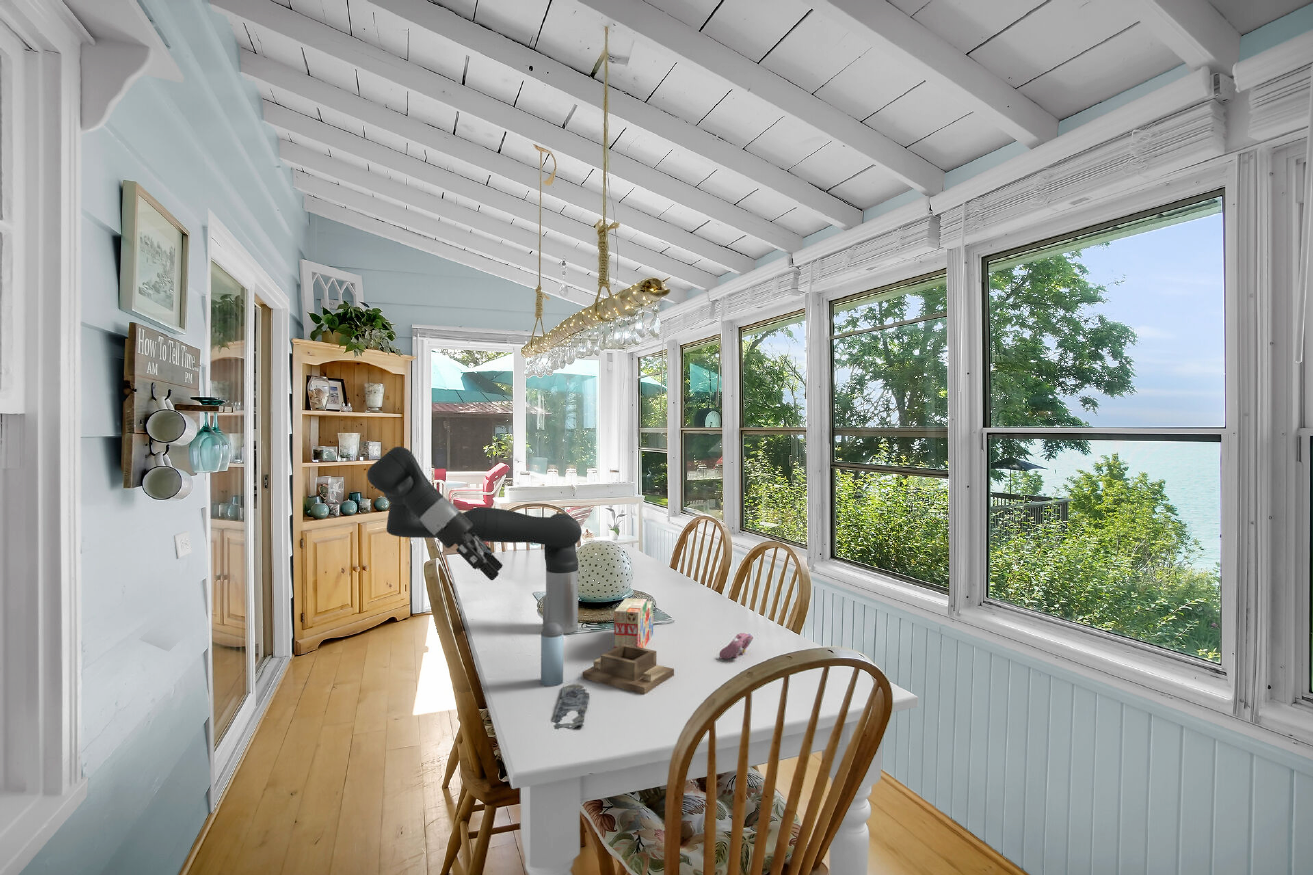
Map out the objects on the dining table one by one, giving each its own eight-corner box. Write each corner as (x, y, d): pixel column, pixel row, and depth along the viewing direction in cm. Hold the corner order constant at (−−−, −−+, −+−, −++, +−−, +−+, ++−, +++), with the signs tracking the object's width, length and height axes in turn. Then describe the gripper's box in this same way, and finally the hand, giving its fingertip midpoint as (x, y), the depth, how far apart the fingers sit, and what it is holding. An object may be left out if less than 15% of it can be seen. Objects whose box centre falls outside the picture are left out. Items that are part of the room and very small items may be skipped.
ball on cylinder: (536, 683, 145) (536, 623, 145) (550, 676, 149) (551, 618, 149) (553, 687, 142) (553, 627, 142) (567, 680, 146) (567, 621, 146)
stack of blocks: (631, 632, 182) (632, 589, 182) (653, 633, 181) (653, 590, 181) (613, 658, 161) (614, 609, 161) (637, 660, 160) (638, 611, 160)
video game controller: (731, 667, 159) (743, 645, 158) (716, 656, 162) (728, 633, 160) (747, 656, 168) (758, 634, 166) (733, 645, 170) (744, 624, 168)
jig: (582, 678, 148) (582, 654, 148) (614, 661, 159) (615, 639, 159) (644, 694, 139) (644, 669, 139) (674, 675, 150) (674, 651, 150)
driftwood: (563, 687, 143) (563, 678, 143) (593, 688, 143) (593, 678, 143) (548, 732, 123) (548, 721, 123) (583, 732, 123) (583, 722, 123)
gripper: (440, 529, 149) (489, 578, 150) (426, 539, 135) (481, 592, 136) (464, 506, 150) (513, 555, 151) (453, 514, 135) (507, 567, 137)
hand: (497, 573), depth 144 cm, fingers open, 8 cm apart
